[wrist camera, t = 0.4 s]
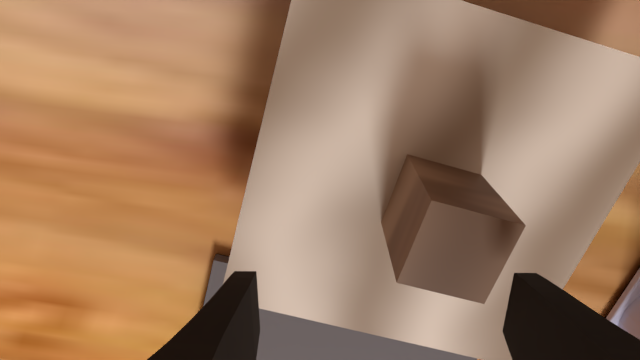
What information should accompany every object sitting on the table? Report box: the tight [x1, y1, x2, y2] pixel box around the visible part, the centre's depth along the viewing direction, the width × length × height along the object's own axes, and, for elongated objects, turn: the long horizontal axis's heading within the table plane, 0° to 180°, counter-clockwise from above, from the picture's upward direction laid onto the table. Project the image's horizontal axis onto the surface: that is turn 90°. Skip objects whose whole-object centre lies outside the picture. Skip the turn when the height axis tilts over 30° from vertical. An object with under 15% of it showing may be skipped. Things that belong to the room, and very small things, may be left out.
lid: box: [223, 0, 640, 360], centre depth 16 cm, size 14×14×5 cm
